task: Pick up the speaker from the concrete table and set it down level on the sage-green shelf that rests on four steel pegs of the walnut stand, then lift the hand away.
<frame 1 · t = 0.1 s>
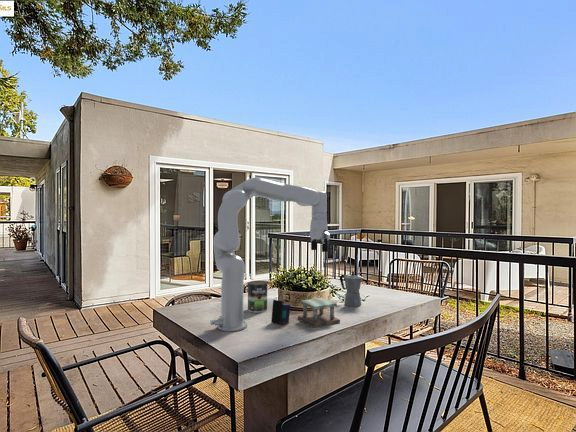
hand: (319, 250, 170), 31 cm above the table, tool pointing down, fingers open, 9 cm apart
speaker: (281, 322, 156), on the table
peg shelf stand: (318, 320, 158), on the table
coffeepot: (351, 304, 188), on the table
coffee can: (257, 310, 177), on the table
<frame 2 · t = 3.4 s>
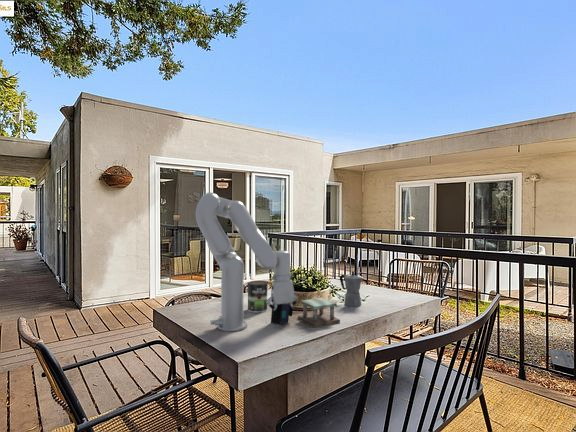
hand: (282, 316, 156), 2 cm above the table, tool pointing down, fingers closed on speaker, 6 cm apart
speaker: (281, 322, 156), on the table, touching gripper
everything else where it was.
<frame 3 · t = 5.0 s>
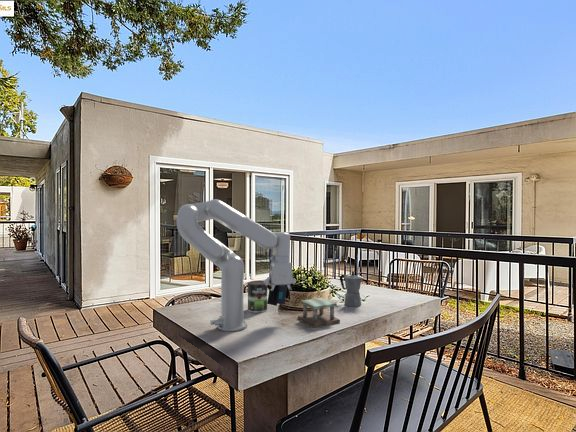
hand: (279, 298, 156), 11 cm above the table, tool pointing down, fingers closed on speaker, 6 cm apart
speaker: (277, 304, 156), point 8 cm above the table, touching gripper
everything else where it was.
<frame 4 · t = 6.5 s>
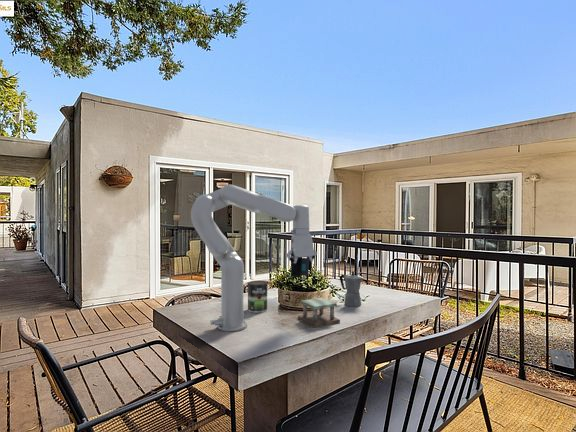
hand: (302, 270, 157), 23 cm above the table, tool pointing down, fingers closed on speaker, 6 cm apart
speaker: (301, 276, 157), point 21 cm above the table, touching gripper
everything else where it was.
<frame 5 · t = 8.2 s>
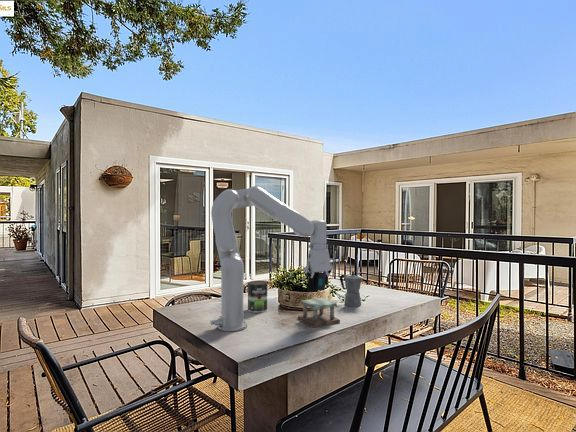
hand: (318, 285, 158), 16 cm above the table, tool pointing down, fingers closed on speaker, 6 cm apart
speaker: (317, 290, 158), point 14 cm above the table, touching gripper
everything else where it was.
when the fingers open (12 cm above the table, at t = 9.5 s): speaker drops 1 cm, resting on peg shelf stand.
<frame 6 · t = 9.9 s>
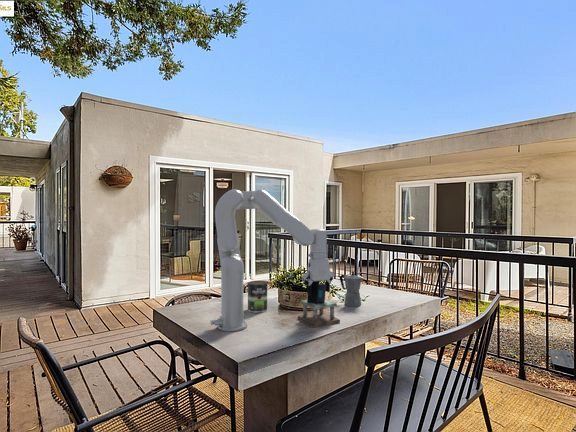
hand: (318, 292, 158), 13 cm above the table, tool pointing down, fingers open, 9 cm apart
speaker: (317, 302, 158), point 8 cm above the table, touching peg shelf stand
everything else where it was.
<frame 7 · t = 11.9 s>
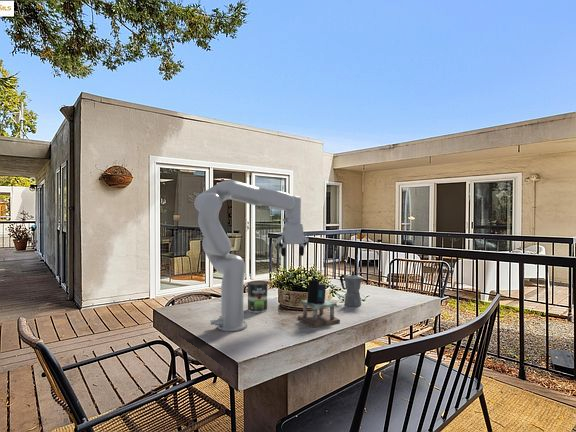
hand: (292, 255, 168), 29 cm above the table, tool pointing down, fingers open, 9 cm apart
nothing on the table moved.
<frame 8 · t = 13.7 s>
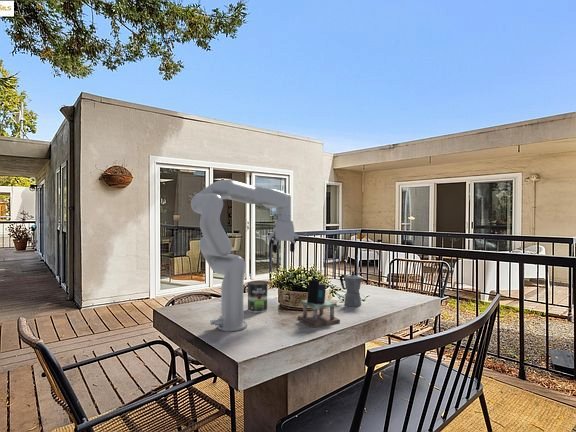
hand: (283, 252, 172), 30 cm above the table, tool pointing down, fingers open, 9 cm apart
nothing on the table moved.
at the end: speaker 0.5 cm off-centre on the peg shelf stand, point 8.5 cm above the peg shelf stand's base; speaker tilted 1°; the gripper is holding nothing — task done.
